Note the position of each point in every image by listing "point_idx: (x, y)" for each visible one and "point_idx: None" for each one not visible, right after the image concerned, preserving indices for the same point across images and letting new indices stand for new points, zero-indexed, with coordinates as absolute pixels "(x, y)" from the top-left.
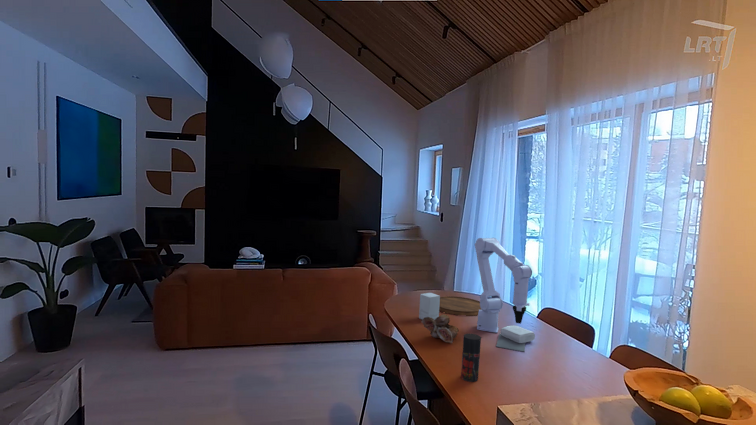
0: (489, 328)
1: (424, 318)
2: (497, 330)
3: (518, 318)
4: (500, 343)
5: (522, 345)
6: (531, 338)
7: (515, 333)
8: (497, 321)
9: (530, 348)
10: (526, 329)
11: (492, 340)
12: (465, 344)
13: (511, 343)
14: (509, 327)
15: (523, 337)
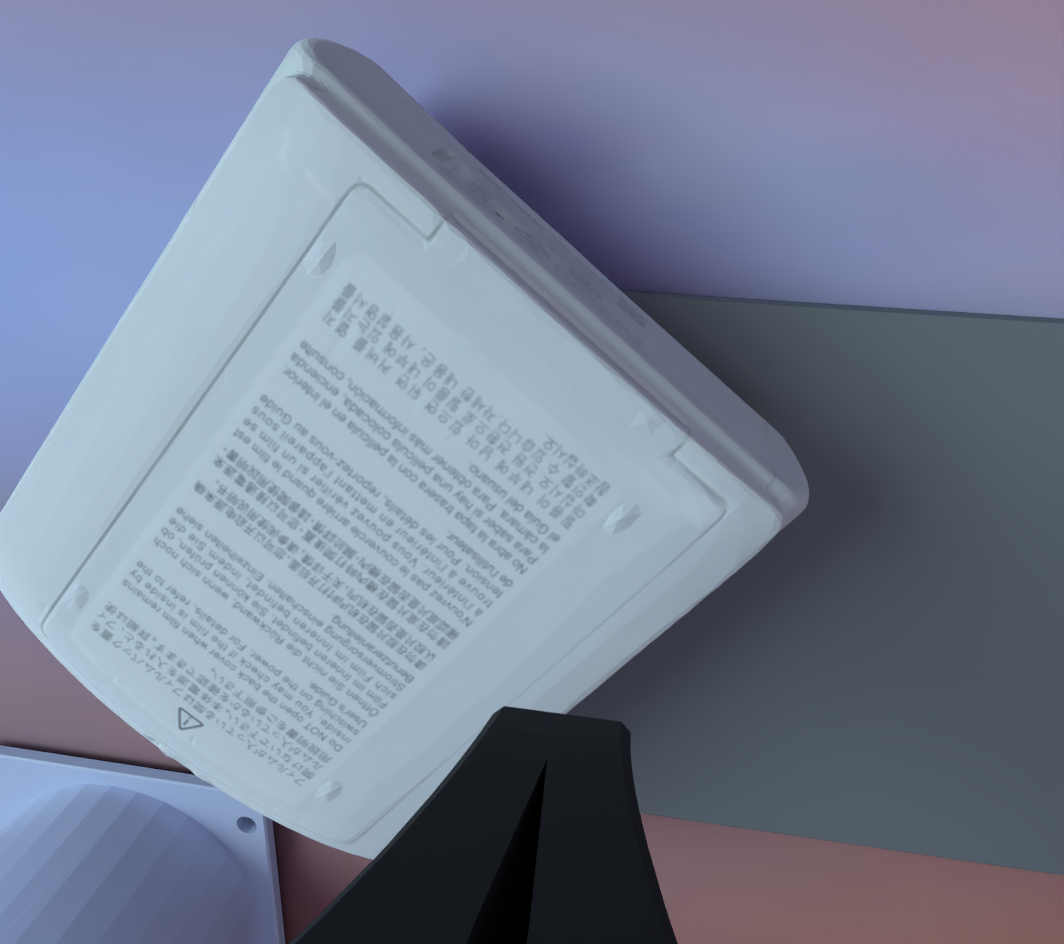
0: (243, 940)
1: None
2: (170, 787)
3: None
4: (880, 792)
5: (832, 368)
6: (446, 145)
7: (660, 631)
8: (34, 934)
9: (906, 169)
10: (144, 314)
11: (705, 881)
12: None
13: (790, 594)
14: (288, 744)
15: (700, 398)
